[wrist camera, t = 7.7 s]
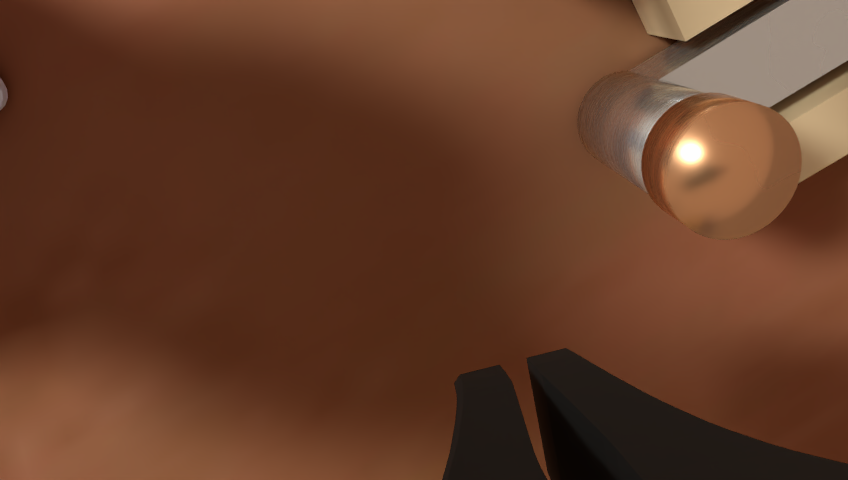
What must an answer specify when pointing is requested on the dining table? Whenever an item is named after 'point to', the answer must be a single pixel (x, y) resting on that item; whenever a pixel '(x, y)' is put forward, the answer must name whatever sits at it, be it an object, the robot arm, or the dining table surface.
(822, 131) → the press frame
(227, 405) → the dining table surface
